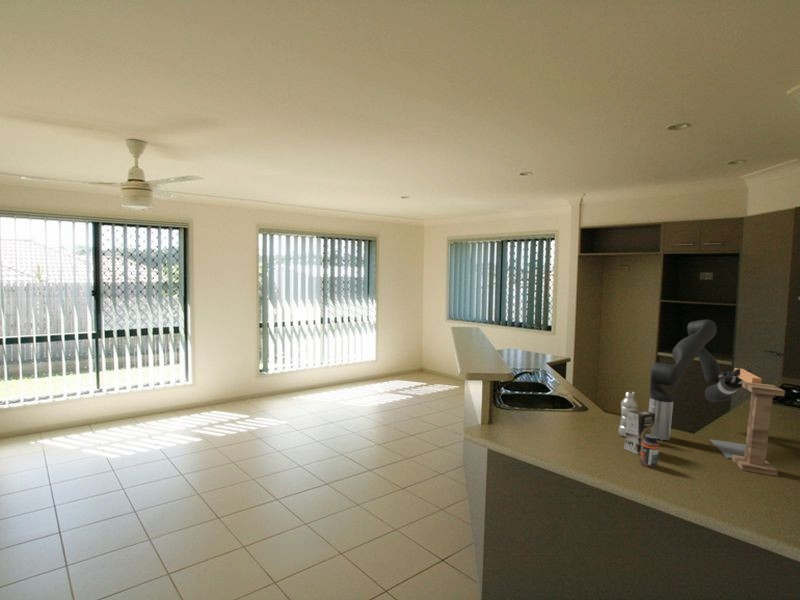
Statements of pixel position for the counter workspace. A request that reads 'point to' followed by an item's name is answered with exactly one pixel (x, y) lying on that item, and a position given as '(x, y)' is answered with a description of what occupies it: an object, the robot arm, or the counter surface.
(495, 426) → the counter surface
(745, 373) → the terracotta bar
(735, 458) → the walnut stand
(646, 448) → the supplement bottle
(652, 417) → the coffee box
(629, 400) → the plastic bottle
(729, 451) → the rubber mat
